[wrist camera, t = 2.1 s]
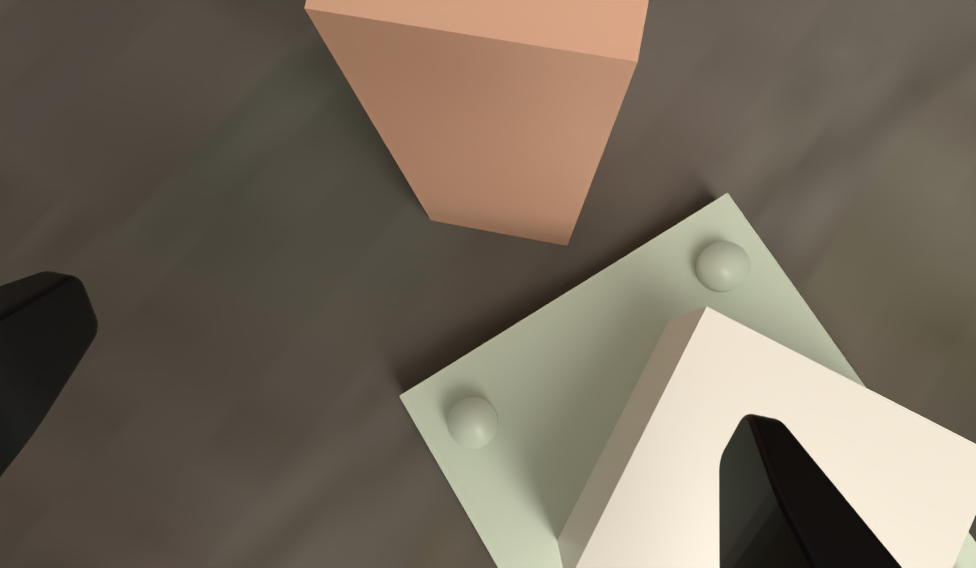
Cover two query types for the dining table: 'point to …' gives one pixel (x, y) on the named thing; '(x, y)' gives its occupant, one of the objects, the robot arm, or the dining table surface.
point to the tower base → (588, 371)
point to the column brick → (490, 99)
